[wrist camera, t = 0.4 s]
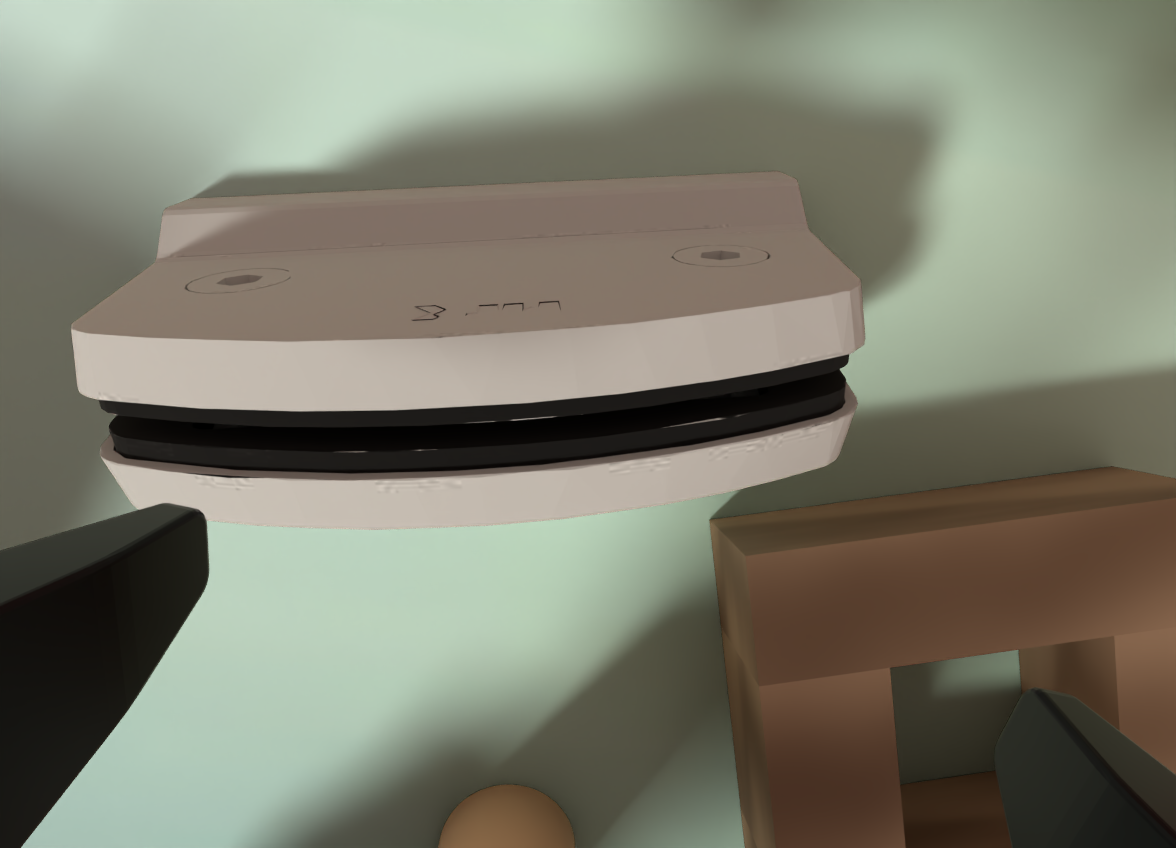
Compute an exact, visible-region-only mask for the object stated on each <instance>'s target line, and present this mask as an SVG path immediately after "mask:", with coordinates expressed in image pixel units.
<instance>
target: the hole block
mask: <svg viewBox="0 0 1176 848" xmlns="http://www.w3.org/2000/svg"><path fill="white" fill-rule="evenodd" d="M709 521H710V530H711V539H712V548H713V558H714V567H715V576H716V585H717V595H718V604H719V613H720V622H721V631H722V641H723V650H724V659H725V668H726V678H727V687H728V696H729V705H730V715H731V724H732V733H733V742H734V751H735V761H736V770H737V779H738V788H739V798H740V807H741V816H742V825H743V835H744V844H745V848H1012V846H1011V842H1010V837H1009V832H1008V827H1007V823H1006V818H1005V813H1004V808H1003V804H1002V799H1001V794H1000V790H999V785H998V780H997V775H996V771H990V772H983V773H977V774H970V775H963V776H956V777H950V778H943V779H936V780H930V781H923V782H916V783H909V784H903V785H900V778H899V766H898V755H897V743H896V732H895V721H894V709H893V698H892V686H891V675H890V668H892V667H900V666H907V665H914V664H921V663H928V662H935V661H942V660H949V659H956V658H963V657H970V656H977V655H984V654H991V653H998V652H1005V651H1012V650H1019V663H1020V677H1021V691H1022V694H1023V693H1024V692H1025V691H1026V690H1027V689H1030V688H1034V687H1038V688H1043V689H1048V690H1052V691H1057V692H1062V693H1067V694H1070V695H1072V696H1074V697H1076V698H1077V699H1079V700H1080V701H1081V702H1083V703H1084V704H1085V705H1086V706H1088V707H1089V708H1090V709H1092V710H1093V711H1094V712H1096V713H1097V714H1098V715H1099V716H1101V717H1102V718H1103V719H1105V720H1106V721H1107V722H1109V723H1110V724H1111V725H1112V726H1114V727H1115V728H1116V729H1118V730H1119V731H1120V732H1121V733H1123V734H1124V735H1125V736H1127V737H1128V738H1129V739H1131V740H1132V741H1133V742H1134V743H1136V744H1137V745H1138V746H1140V747H1141V748H1142V749H1144V750H1145V751H1146V752H1147V753H1149V754H1150V755H1151V756H1153V757H1154V758H1155V759H1156V760H1158V761H1159V762H1160V763H1162V764H1163V765H1164V766H1166V767H1167V768H1168V769H1169V770H1171V771H1172V772H1173V773H1175V774H1176V479H1175V478H1170V477H1164V476H1159V475H1154V474H1149V473H1144V472H1139V471H1134V470H1128V469H1123V468H1118V467H1113V466H1111V467H1104V468H1096V469H1089V470H1081V471H1073V472H1066V473H1058V474H1051V475H1043V476H1036V477H1028V478H1021V479H1013V480H1006V481H998V482H990V483H983V484H975V485H968V486H960V487H953V488H945V489H938V490H930V491H923V492H915V493H907V494H900V495H892V496H885V497H877V498H870V499H862V500H855V501H847V502H839V503H832V504H824V505H817V506H809V507H802V508H794V509H787V510H779V511H772V512H764V513H756V514H749V515H741V516H734V517H726V518H719V519H711V520H709Z"/></svg>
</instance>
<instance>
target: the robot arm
mask: <svg viewBox="0 0 1176 848" xmlns="http://www.w3.org/2000/svg"><path fill="white" fill-rule="evenodd" d="M208 577H209V554H208V534H207V521H206V518H205V515H204V514H203V513H202V512H201V511H200V510H199V509H196V508H191V507H186V506H182V505H177V504H172V503H161V504H157V505H154V506H151V507H147V508H144V509H140V510H137V511H134V512H130V513H127V514H123V515H120V516H117V517H113V518H110V519H106V520H103V521H100V522H96V523H93V524H89V525H86V526H83V527H79V528H76V529H72V530H69V531H66V532H62V533H59V534H55V535H52V536H49V537H45V538H42V539H38V540H35V541H32V542H28V543H25V544H22V545H18V546H15V547H11V548H8V549H5V550H1V551H0V848H21V847H22V845H23V844H24V843H25V842H26V840H27V839H28V838H29V837H30V835H31V834H32V833H33V831H34V830H35V829H36V828H37V826H38V825H39V824H40V823H41V821H42V820H43V819H44V817H45V816H46V815H47V814H48V812H49V811H50V810H51V809H52V807H53V806H54V805H55V803H56V802H57V801H58V800H59V798H60V797H61V796H62V795H63V793H64V792H65V791H66V789H67V788H68V787H69V786H70V784H71V783H72V782H73V781H74V779H75V778H76V777H77V775H78V774H79V773H80V772H81V770H82V769H83V768H84V767H85V765H86V764H87V763H88V761H89V760H90V759H91V758H92V756H93V755H94V754H95V753H96V751H97V750H98V749H99V747H100V746H101V745H102V744H103V742H104V741H105V740H106V739H107V737H108V736H109V735H110V733H111V732H112V731H113V730H114V728H115V727H116V726H117V724H118V723H119V722H120V720H121V719H122V718H123V716H124V715H125V714H126V712H127V711H128V709H129V708H130V707H131V705H132V704H133V702H134V701H135V699H136V698H137V696H138V695H139V693H140V692H141V690H142V689H143V687H144V685H145V684H146V682H147V681H148V679H149V678H150V676H151V674H152V673H153V671H154V670H155V668H156V667H157V665H158V663H159V662H160V660H161V659H162V657H163V655H164V654H165V652H166V651H167V649H168V648H169V646H170V644H171V643H172V641H173V640H174V638H175V637H176V635H177V633H178V632H179V630H180V629H181V627H182V625H183V624H184V622H185V621H186V619H187V618H188V616H189V614H190V613H191V611H192V610H193V608H194V607H195V605H196V603H197V602H198V600H199V599H200V597H201V595H202V594H203V592H204V590H205V587H206V585H207V581H208ZM994 764H995V771H996V775H997V780H998V785H999V790H1000V794H1001V799H1002V804H1003V808H1004V813H1005V818H1006V823H1007V827H1008V832H1009V837H1010V842H1011V846H1012V848H1176V774H1175V773H1173V772H1172V771H1171V770H1169V769H1168V768H1167V767H1166V766H1164V765H1163V764H1162V763H1160V762H1159V761H1158V760H1156V759H1155V758H1154V757H1153V756H1151V755H1150V754H1149V753H1147V752H1146V751H1145V750H1144V749H1142V748H1141V747H1140V746H1138V745H1137V744H1136V743H1134V742H1133V741H1132V740H1131V739H1129V738H1128V737H1127V736H1125V735H1124V734H1123V733H1121V732H1120V731H1119V730H1118V729H1116V728H1115V727H1114V726H1112V725H1111V724H1110V723H1109V722H1107V721H1106V720H1105V719H1103V718H1102V717H1101V716H1099V715H1098V714H1097V713H1096V712H1094V711H1093V710H1092V709H1090V708H1089V707H1088V706H1086V705H1085V704H1084V703H1083V702H1081V701H1080V700H1079V699H1077V698H1076V697H1074V696H1072V695H1070V694H1067V693H1062V692H1057V691H1052V690H1048V689H1043V688H1038V687H1034V688H1030V689H1027V690H1026V691H1025V692H1024V693H1023V694H1022V695H1021V697H1020V699H1019V700H1018V702H1017V704H1016V706H1015V708H1014V710H1013V712H1012V714H1011V716H1010V717H1009V719H1008V721H1007V723H1006V725H1005V727H1004V729H1003V731H1002V733H1001V734H1000V736H999V738H998V741H997V743H996V747H995V752H994Z"/></svg>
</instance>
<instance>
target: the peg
mask: <svg viewBox="0 0 1176 848" xmlns="http://www.w3.org/2000/svg"><path fill="white" fill-rule="evenodd" d="M438 848H575V838H574V833H573V829H572V827H571V824H570V822H569V820H568V818H567V816H566V814H565V813H564V812H563V810H562V809H561V808H560V807H559V806H558V804H557V803H556V802H554V801H553V800H552V799H551V798H550V797H548V796H547V795H545V794H543V793H542V792H539V791H537V790H535V789H532V788H529V787H526V786H520V785H509V784H506V785H497V786H492V787H488V788H485V789H482V790H480V791H478V792H476V793H474V794H472V795H470V796H469V797H467V798H466V799H465V800H463V801H462V802H461V803H460V804H459V805H458V806H457V807H456V808H455V809H454V810H453V811H452V813H451V814H450V816H449V817H448V819H447V821H446V823H445V825H444V827H443V830H442V832H441V836H440V840H439V845H438Z"/></svg>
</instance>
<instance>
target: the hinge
mask: <svg viewBox="0 0 1176 848" xmlns="http://www.w3.org/2000/svg"><path fill="white" fill-rule="evenodd" d="M71 333H72V342H73V351H74V360H75V369H76V378H77V387H78V390H79V392H80V393H81V394H83V395H85V396H86V397H89V398H93V399H97V400H99V402H100V405H101V408H102V409H103V410H105V411H106V412H107V413H111V414H114V415H117V416H116V417H115V418H114V419H113V420H112V422H111V423H110V425H109V431H110V435H109V437H108V438H107V439H106V440H105V441H104V443H103V444H102V445H101V448H100V456H101V458H102V459H103V461H104V462H105V464H106V466H107V467H108V469H109V470H110V472H111V473H112V475H113V476H114V478H115V479H116V481H117V482H118V484H119V485H120V487H121V488H122V490H123V491H124V493H125V494H126V496H127V497H128V499H129V500H130V502H131V503H132V505H134V506H135V507H136V508H137V509H144V508H147V507H151V506H154V505H157V504H161V503H172V504H177V505H182V506H186V507H191V508H196V509H199V510H200V511H201V512H202V513H203V514H204V515H205V518H206V520H208V521H218V522H227V523H237V524H247V525H257V526H279V527H301V528H331V529H367V530H379V529H410V528H440V527H465V526H488V525H499V524H511V523H522V522H533V521H544V520H555V519H566V518H573V517H580V516H587V515H595V514H602V513H609V512H616V511H623V510H630V509H637V508H644V507H651V506H658V505H665V504H670V503H675V502H680V501H686V500H691V499H696V498H701V497H706V496H712V495H717V494H722V493H726V492H731V491H735V490H739V489H743V488H747V487H751V486H755V485H759V484H763V483H767V482H772V481H776V480H779V479H783V478H786V477H790V476H793V475H797V474H800V473H804V472H807V471H811V470H814V469H818V468H821V467H825V466H827V465H829V464H830V463H832V462H833V461H835V460H836V459H837V457H838V456H839V455H840V452H841V449H842V446H843V443H844V441H845V438H846V435H847V432H848V430H849V427H850V424H851V421H852V419H853V416H854V413H855V410H856V407H857V405H858V402H857V398H856V396H855V395H854V393H853V392H852V390H851V389H850V387H849V385H848V384H847V382H846V379H845V377H844V375H843V374H842V372H841V371H840V368H842V367H844V366H846V364H847V363H848V360H849V354H851V353H852V352H854V351H855V350H857V349H858V348H860V347H861V346H863V345H864V342H865V327H864V314H863V301H862V288H861V280H860V279H859V278H858V277H857V276H856V275H855V274H854V273H853V272H852V271H851V270H850V269H849V268H848V267H847V266H846V265H845V264H844V263H843V262H842V261H841V260H840V259H839V258H838V257H837V256H835V255H834V254H833V253H832V252H831V251H830V250H829V249H828V248H827V247H826V246H825V245H824V244H823V243H822V242H821V241H820V240H819V239H818V238H817V237H816V236H815V235H814V234H813V233H812V232H811V231H810V230H809V227H808V224H807V221H806V216H805V212H804V207H803V203H802V198H801V194H800V189H799V185H798V182H797V180H796V178H793V177H791V176H788V175H786V174H784V173H781V172H779V171H770V172H749V173H727V174H705V175H684V176H662V177H641V178H619V179H598V180H576V181H555V182H533V183H511V184H490V185H468V186H447V187H425V188H404V189H382V190H360V191H339V192H317V193H296V194H274V195H253V196H231V197H210V198H191V199H188V200H185V201H183V202H180V203H177V204H175V205H172V206H170V207H167V208H166V209H165V210H164V212H163V215H162V222H161V230H160V237H159V244H158V252H157V257H156V260H155V262H154V263H153V264H152V265H151V266H149V267H148V268H147V269H145V270H144V271H143V272H141V273H140V274H139V275H137V276H136V277H134V278H133V279H132V280H130V281H129V282H128V283H126V284H125V285H124V286H122V287H121V288H119V289H118V290H117V291H115V292H114V293H113V294H111V295H110V296H109V297H107V298H106V299H104V300H103V301H102V302H100V303H99V304H98V305H96V306H95V307H94V308H92V309H91V310H90V311H88V312H87V313H85V314H84V315H83V316H81V317H80V318H79V319H77V320H76V321H75V322H73V323H72V325H71Z"/></svg>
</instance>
